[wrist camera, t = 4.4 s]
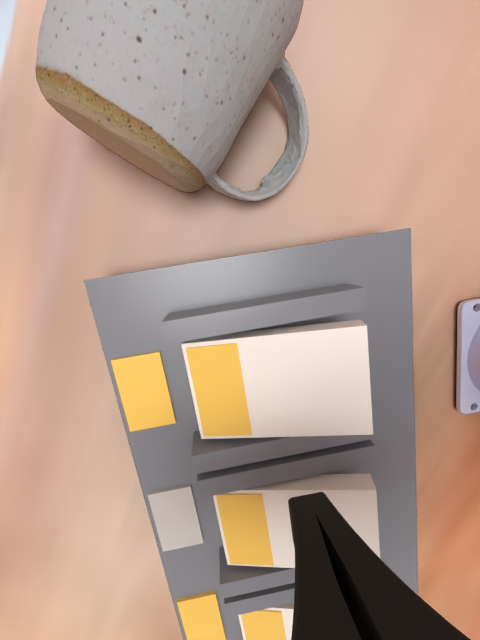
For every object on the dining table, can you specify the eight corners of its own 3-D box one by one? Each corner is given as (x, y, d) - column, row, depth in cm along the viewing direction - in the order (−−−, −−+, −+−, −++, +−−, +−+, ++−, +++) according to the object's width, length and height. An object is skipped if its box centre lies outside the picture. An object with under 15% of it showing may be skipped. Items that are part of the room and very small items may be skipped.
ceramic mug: (78, 141, 15) (-59, 21, 7) (144, -26, 13) (62, -377, 6) (255, 242, 17) (292, 231, 9) (326, 105, 15) (435, -34, 8)
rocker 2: (370, 473, 14) (376, 491, 13) (375, 551, 15) (381, 574, 14) (216, 475, 16) (211, 491, 15) (230, 546, 17) (227, 566, 16)
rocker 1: (360, 319, 12) (367, 326, 11) (367, 421, 13) (373, 435, 12) (188, 337, 14) (180, 344, 13) (207, 426, 15) (200, 439, 14)
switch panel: (376, 233, 17) (442, 222, 12) (393, 586, 23) (440, 674, 18) (107, 276, 16) (60, 283, 11) (198, 631, 22) (194, 735, 17)
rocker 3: (377, 593, 16) (384, 617, 15) (381, 656, 17) (388, 683, 16) (238, 585, 17) (236, 606, 16) (250, 643, 18) (248, 666, 17)
